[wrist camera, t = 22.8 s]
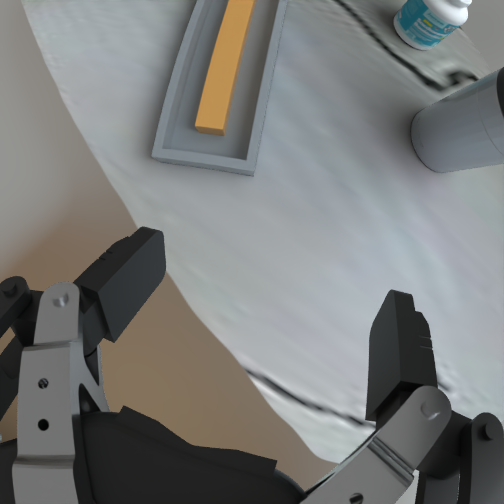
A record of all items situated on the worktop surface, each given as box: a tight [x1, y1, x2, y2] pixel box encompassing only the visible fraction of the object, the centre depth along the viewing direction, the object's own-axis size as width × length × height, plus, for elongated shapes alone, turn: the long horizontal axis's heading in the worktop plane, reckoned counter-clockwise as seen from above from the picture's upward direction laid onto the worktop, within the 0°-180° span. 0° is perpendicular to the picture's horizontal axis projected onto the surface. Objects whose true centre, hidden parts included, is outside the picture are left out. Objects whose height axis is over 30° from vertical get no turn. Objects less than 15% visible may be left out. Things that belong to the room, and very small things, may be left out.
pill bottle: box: [394, 0, 472, 50], centre depth 25 cm, size 8×7×14 cm
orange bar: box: [195, 0, 257, 136], centre depth 30 cm, size 24×3×3 cm, turn 170°
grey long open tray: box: [151, 0, 288, 176], centre depth 30 cm, size 34×11×4 cm, turn 170°
